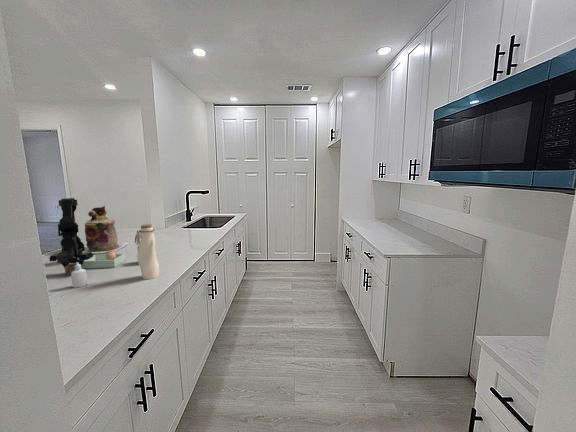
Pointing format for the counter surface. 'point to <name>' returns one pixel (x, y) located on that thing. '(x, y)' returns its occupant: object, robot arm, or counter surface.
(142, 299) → the counter surface
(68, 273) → the walnut cube
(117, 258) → the box
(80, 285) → the eye dropper bottle
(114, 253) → the egg
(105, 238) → the cookie jar
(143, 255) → the water bottle
